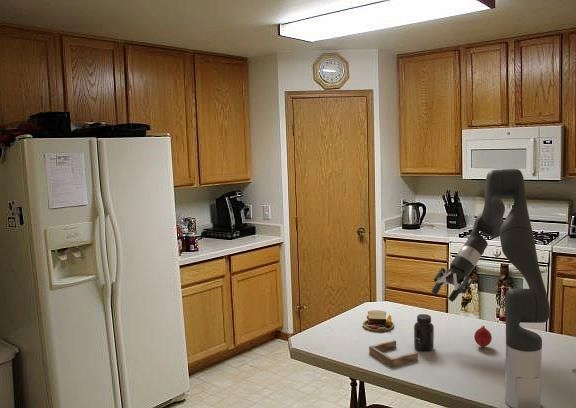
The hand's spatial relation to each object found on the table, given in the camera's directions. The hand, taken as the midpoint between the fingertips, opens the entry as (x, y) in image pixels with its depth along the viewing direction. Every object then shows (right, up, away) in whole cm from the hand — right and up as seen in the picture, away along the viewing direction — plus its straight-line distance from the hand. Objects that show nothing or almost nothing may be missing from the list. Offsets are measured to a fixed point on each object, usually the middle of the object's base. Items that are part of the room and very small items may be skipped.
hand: (441, 296), depth 190 cm
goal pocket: (-18, -19, -7) cm, 28 cm away
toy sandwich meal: (-19, -16, +22) cm, 34 cm away
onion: (+14, -18, -2) cm, 23 cm away
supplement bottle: (-7, -18, -1) cm, 20 cm away
